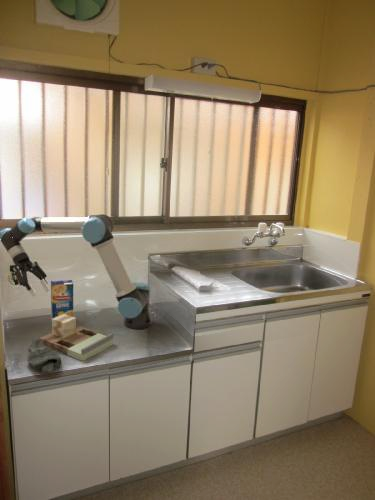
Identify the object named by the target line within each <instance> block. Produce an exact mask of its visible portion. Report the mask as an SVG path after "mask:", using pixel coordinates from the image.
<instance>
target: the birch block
mask: <svg viewBox="0 0 375 500" xmlns="http://www.w3.org/2000/svg"><path fill="white" fill-rule="evenodd" d="M76 325H77V317H75V316H73V317H72V316H69V315H66V314H63V315H60V316H58V317H55V318H53V319H52V318H51V333H52V334H53V335H56V336H59V337H61V338H66V337H68V336H70V335H72V334H75V333H76Z"/></svg>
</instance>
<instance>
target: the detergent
mask: <svg viewBox="0 0 375 500" xmlns="http://www.w3.org/2000/svg"><path fill="white" fill-rule="evenodd" d="M27 351H28V352H29V354H28V356H27V363H28V364H29V365H30V366H32V368H34V369H35V370H36V371H38V372H39V373H42V374H43V373H45V374H47V373H50V372H55V371H56V370H58V369H59V368H60V367H61V365H62V358H61V356H60V354H59V353H57V352H58V351H56V350H54V349H52V348H49V347H47V346H45V344H44V343H43V342H42V341H41V340H40V339H32V341H31V342H30V343H29V344H28V346H27Z"/></svg>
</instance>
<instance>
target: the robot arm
mask: <svg viewBox="0 0 375 500" xmlns="http://www.w3.org/2000/svg"><path fill="white" fill-rule="evenodd" d="M113 231H114V222H113V219H112V218H111V217H110V216H109V215H107V214H105V213H104V214H102V213H101V214H90V215H88V216H87V217H86V216H82V217H81V216H79V217H78V216H77V217H76V216H75V217H74V216H73V217H42V216H41V217H40V216H33V217H32V218H30V217H23V218H22V219H21V220H19V221H18V222H17V223H16V224H15V225H14V226H13V227H12V228H10V227H7V228H4V229H2V230H1V231H0V239H1V240H0V243H1V242H2V243H1V244H2V246H3V247H4V249H5V250H6V252H7V254H8V256H9V258H10V259H12V263H13V264H14V267H13V269H12V271H13V272H14V274H15V277H16V278H17V282H18V284H19V285H20V286H21V287H25V288H26V290H27V291H28V292H29V294H30V295H31V296H32V297H35V296H36V295H37V292H36V291H35V289H34V287H33V285H32V284H31V282H29V280H28V273H27V272H29V273H31V274H33V275H34V276H35V277H36V278H37V279H39V280H40V281H39V283H40V284H41V286H42V287H43V288H44V290H45V292H46V293H48V292H49V291H51V287H50V286H49V285H48V282H47V280H46V278H47V277H48V275H47V273H45V271H44V270H43V269H42V268H41V267H40V265H39V264H38V262H37V261H34V262H32V261H31V260H30V257H29V255H28V254H27V252H26V250H25V248H24V247H23V245H22V244H21V241H22V240H24V239H25V238H26V237H27V236H30V235H31V234H34V233H40V232H41V233H43V232H44V233H45V232H46V233H49V232H53V233H54V232H55V233H56V232H57V233H59V232H62V233H63V232H68V233H69V232H71V233H72V232H81V235H82V237H83V239H84V240H85V241H86V242H87V243H89V244H90V245H91V247H92V249H95V250H96V251H97V254H98V255H99V258H100V259H101V262H102V264H103V266H104V268H105V270H106V272H107V274H108V276H109V279H110V280H111V283H112V285H113V287H114V289H115V292H116V293H115V298H116V300H117V303H118V304H117V310H118V312H119V314H120V315H121V316H122V317H124V318H123V325H124V327H127V328H129V329H133V330H143V329H147V328H149V327H151V326H152V318H151V313H150V309H149V308H150V292H151V289H150V288H151V287H150V285H149V284H148V283H144V282H132V280H131V279H130V276H129V275H128V273H127V271H126V268H125V266H124V264H123V262H122V260H121V258H120V256H119V252H118V251H117V250H116V247H115V245H114V243H113V241H114V239H115V238H114V235H113V233H112V232H113ZM12 237H13V238H12Z"/></svg>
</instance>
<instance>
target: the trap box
mask: <svg viewBox="0 0 375 500" xmlns="http://www.w3.org/2000/svg"><path fill="white" fill-rule="evenodd" d="M98 333H99V332H98V331H97V332H96V331H94V330H91V329H88V328H85V327H82V326H79V325H77V324H76V333H75V334H72V335H70V336H68V337H66V338H61V337H59V336H56V335H53V334H52V332H50V333H47V334H45V335H43V336H41V337H39V339H38V340H41V341H42V342H43V343H44V344H45V346H46V347H49V348H51V349H53V350H54V351H56V352H59V353H62V354H65V355H67V356H69V355H68V348H70V347H72V346H74V345H76V344H78V343H80V342H82V341H84V340H86V339H88V338H90V337H92V336H94V335H96V334H98Z"/></svg>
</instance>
